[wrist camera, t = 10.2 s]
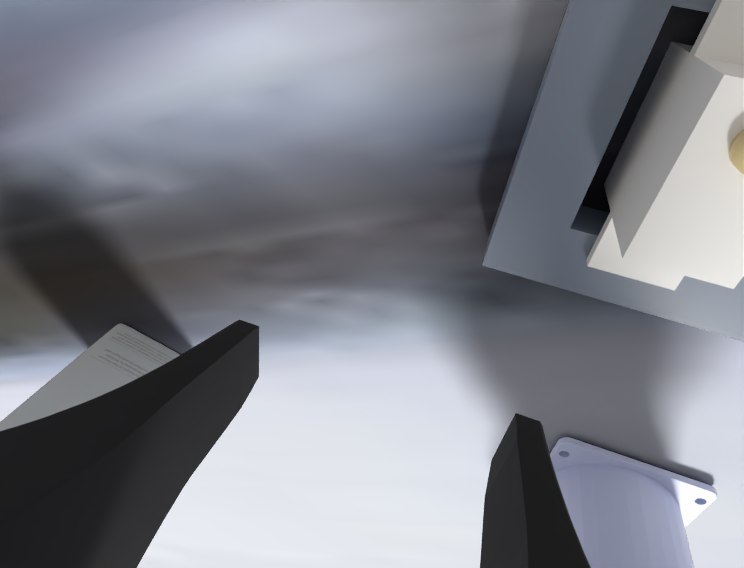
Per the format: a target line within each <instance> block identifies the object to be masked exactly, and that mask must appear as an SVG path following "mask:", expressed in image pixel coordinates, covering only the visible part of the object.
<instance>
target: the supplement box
mask: <svg viewBox="0 0 744 568" xmlns="http://www.w3.org/2000/svg"><path fill="white" fill-rule="evenodd" d="M178 356H180V354H178V353H176V352H175V351H173V350H171V349H169V348H167V347H165V346H164V345H162V344H160V343H158V342H156V341H155V340H153V339H151V338H149V337H147V336H145V335H143V334H141V333H140V332H138V331H136V330H135V329H133V328H131V327H129V326H127V325H125V324H122V323H119V324H117V325H116V326H114V327H113V328H112V329H111V330H110V331H109V332H107V333H106V334H105V335H104V336H102V337H101V338H100V339H99V340H98V341H96V342H95V343H94V344H93V345H92V346H90V347H89V348H88V349H87V350H86V351H84V352H83V353H82V354H81V355H80V356H78V357H77V358H76V359H75V360H74V361H73V362H71V363H70V364H69V365H68V366H67V367H65V368H64V369H63V370H62V371H61V372H59V373H58V374H57V375H56V376H55V377H53V378H52V379H51V380H50V381H49V382H48V383H46V384H45V385H44V386H43V387H42V388H40V389H39V390H38V391H37V392H36V393H34V394H33V395H32V396H31V397H30V398H29V399H27V400H26V401H25V402H24V403H23V404H21V405H20V406H19V407H18V408H16V409H15V410H14V411H13V412H12V413H11V414H9V415H8V416H7V417H6V418H5V419H3V420H2V421H1V422H0V431H3V430H6V429H9V428H13V427H16V426H19V425H22V424H26V423H29V422H32V421H35V420H38V419H41V418H44V417H47V416H49V415H52V414H55V413H57V412H60V411H63V410H66V409H68V408H71V407H74V406H76V405H79V404H81V403H84V402H87V401H89V400H92V399H94V398H96V397H99V396H101V395H103V394H105V393H108V392H110V391H112V390H114V389H117V388H119V387H121V386H123V385H125V384H127V383H129V382H131V381H133V380H135V379H137V378H139V377H141V376H143V375H145V374H147V373H149V372H151V371H152V370H154V369H156V368H158V367H160V366H162V365H164V364H166V363H167V362H169V361H171V360H173V359H174V358H176V357H178Z"/></svg>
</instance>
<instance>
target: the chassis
mask: <svg viewBox="0 0 744 568" xmlns="http://www.w3.org/2000/svg"><path fill="white" fill-rule="evenodd" d="M715 2H716V0H569V3H568V6H567V9H566V12H565V15H564V18H563V21H562V24H561V27H560V30H559V32H558V35H557V38H556V41H555V44H554V47H553V50H552V53H551V56H550V59H549V62H548V65H547V68H546V71H545V73H544V76H543V79H542V82H541V85H540V88H539V91H538V94H537V97H536V100H535V103H534V106H533V109H532V111H531V114H530V117H529V120H528V123H527V126H526V129H525V132H524V135H523V138H522V141H521V144H520V147H519V150H518V152H517V155H516V158H515V161H514V164H513V167H512V170H511V173H510V176H509V179H508V182H507V185H506V188H505V190H504V193H503V196H502V199H501V202H500V205H499V208H498V211H497V214H496V217H495V220H494V223H493V226H492V229H491V231H490V234H489V237H488V241H487V246H486V250H485V254H484V259H483V263H482V266H486V267H489V268H493V269H496V270H499V271H503V272H506V273H510V274H513V275H517V276H520V277H523V278H527V279H530V280H534V281H537V282H541V283H544V284H547V285H551V286H554V287H558V288H561V289H565V290H568V291H571V292H575V293H578V294H582V295H585V296H589V297H592V298H596V299H599V300H602V301H606V302H609V303H613V304H616V305H620V306H623V307H626V308H630V309H633V310H637V311H640V312H644V313H647V314H650V315H654V316H657V317H661V318H664V319H668V320H671V321H674V322H678V323H681V324H685V325H688V326H692V327H695V328H698V329H702V330H705V331H709V332H712V333H716V334H719V335H723V336H726V337H729V338H733V339H736V340H740V341H743V342H744V276H743V278H742V279H741V280H740V282H739V283H738V284H737V285H736V287H735V288H734V289H731V288H728V287H724V286H720V285H717V284H713V283H709V282H706V281H702V280H699V279H695V278H691V277H688V276H684V277H683V279H682V280H681V282H680V283H679V285H678V286H677V288H676V289H675V291H674V290H671V289H667V288H664V287H660V286H656V285H653V284H649V283H646V282H642V281H638V280H635V279H631V278H628V277H624V276H621V275H617V274H613V273H610V272H606V271H603V270H599V269H596V268H592V267H588V266H587V260H586V259H587V257H588V255H589V253H590V251H591V249H592V247H593V245H594V243H595V241H596V239H597V237H598V235H599V233H600V231H601V229H602V227H603V225H604V223H605V221H606V219H607V217H608V215H609V212H605V211H601V210H597V209H593V208H589V207H586V206H582V205H581V203H582V201H583V199H584V197H585V194H586V192H587V190H588V188H589V186H590V183H591V181H592V179H593V177H594V175H595V172H596V170H597V168H598V166H599V164H600V161H601V159H602V157H603V155H604V153H605V151H606V148H607V146H608V144H609V142H610V140H611V137H612V135H613V133H614V131H615V129H616V126H617V124H618V122H619V120H620V118H621V115H622V113H623V111H624V109H625V107H626V104H627V102H628V100H629V98H630V96H631V93H632V91H633V89H634V87H635V85H636V83H637V80H638V78H639V76H640V74H641V72H642V69H643V67H644V65H645V63H646V61H647V58H648V56H649V54H650V52H651V50H652V47H653V45H654V43H655V41H656V39H657V36H658V34H659V32H660V30H661V28H662V25H663V23H664V21H665V19H666V17H667V14H668V12H669V10H670V8H671V6H677V7H682V8H687V9H692V10H698V11H703V12H708V13H710V12H711V10H712V8H713V6H714V4H715Z"/></svg>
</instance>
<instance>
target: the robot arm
mask: <svg viewBox="0 0 744 568" xmlns="http://www.w3.org/2000/svg"><path fill="white" fill-rule="evenodd" d="M258 377H259V326H256V325H254V324H251V323H248V322H245V321H242V320H238V321H236V322H234V323H233V324H231V325H229V326H228V327H226V328H224V329H223V330H221V331H220V332H218V333H216V334H215V335H213V336H211V337H210V338H208V339H207V340H205V341H203V342H202V343H200V344H198V345H197V346H195V347H193V348H192V349H190V350H188V351H186V352H185V353H183V354H181V355H180V356H178V357H176V358H174V359H173V360H171V361H169V362H167V363H166V364H164V365H162V366H160V367H158V368H156V369H154V370H152V371H151V372H149V373H147V374H145V375H143V376H141V377H139V378H137V379H135V380H133V381H131V382H129V383H127V384H125V385H123V386H121V387H119V388H117V389H114V390H112V391H110V392H108V393H105V394H103V395H101V396H99V397H96V398H94V399H92V400H89V401H87V402H84V403H81V404H79V405H76V406H74V407H71V408H68V409H66V410H63V411H60V412H57V413H55V414H52V415H49V416H47V417H44V418H41V419H38V420H35V421H32V422H29V423H26V424H22V425H19V426H16V427H13V428H9V429H6V430H3V431H0V568H137V566H138V564H139V562H140V561H141V559H142V557H143V555H144V553H145V552H146V550H147V548H148V546H149V545H150V543H151V541H152V539H153V538H154V536H155V534H156V532H157V531H158V529H159V527H160V526H161V524H162V522H163V520H164V519H165V517H166V515H167V514H168V512H169V510H170V509H171V507H172V505H173V504H174V502H175V500H176V499H177V497H178V495H179V494H180V492H181V490H182V489H183V487H184V486H185V484H186V483H187V481H188V480H189V478H190V477H191V475H192V474H193V472H194V471H195V470H196V468H197V467H198V466H199V464H200V463H201V462H202V460H203V459H204V458H205V456H206V455H207V454H208V452H209V451H210V450H211V448H212V447H213V445H214V444H215V443H216V441H217V440H218V439H219V437H220V436H221V435H222V433H223V432H224V431H225V429H226V428H227V427H228V425H229V424H230V422H231V421H232V420H233V418H234V417H235V416H236V414H237V413H238V411H239V410H240V409H241V407H242V405H243V404H244V402H245V400H246V399H247V397H248V395H249V393H250V392H251V390H252V388H253V386H254V384H255V382H256V381H257V379H258ZM564 451H565V452H564ZM716 498H717V493H716V489H715V488H714V487H712V486H710V485H708V484H705V483H702V482H699V481H696V480H693V479H690V478H687V477H684V476H681V475H679V474H676V473H673V472H670V471H667V470H664V469H661V468H658V467H655V466H652V465H649V464H646V463H643V462H640V461H637V460H634V459H632V458H629V457H626V456H623V455H620V454H617V453H614V452H611V451H608V450H605V449H602V448H599V447H596V446H593V445H590V444H587V443H585V442H582V441H579V440H576V439H573V438H569V437H563V438H560V439H559V440H558V442H557V443H556V445H555V446H554V448H553V449H552V451H551V453H549V450H548V446H547V442H546V438H545V434H544V430H543V426H542V424H541V422H540V421H537V420H534V419H531V418H528V417H525V416H522V415H519V414H515V416H514V418H513V420H512V422H511V424H510V425H509V427H508V429H507V431H506V433H505V435H504V437H503V439H502V441H501V443H500V445H499V447H498V449H497V451H496V453H495V455H494V457H493V458H492V462H491V467H490V472H489V477H488V483H487V489H486V494H485V503H484V517H483V532H482V548H481V563H480V568H694V564H693V560H692V556H691V552H690V548H689V543H688V539H687V535H686V531H685V527H686V526H687V525H688V524H689V523H690V522H691V521H693V520H694V519H695V518H696V517H697V516H698V515H699V514H700V513H701V512H702V511H704V510H705V509H706V508H707V507H708V506H709V505H710V504H711V503H712V502H713V501H715V500H716Z"/></svg>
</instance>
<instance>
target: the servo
mask: <svg viewBox="0 0 744 568" xmlns="http://www.w3.org/2000/svg"><path fill="white" fill-rule="evenodd" d="M604 187H605V191H606V195H607V199H608V203H609V207H610V213H609V215H608V217H607V219H606V221H605V223H604V225H603V227H602V229H601V231H600V233H599V235H598V237H597V239H596V241H595V243H594V245H593V247H592V249H591V251H590V253H589V255H588V257H587V259H586V260H587V266H588V267H592V268H596V269H599V270H603V271H606V272H610V273H613V274H617V275H621V276H624V277H628V278H631V279H635V280H638V281H642V282H646V283H649V284H653V285H656V286H660V287H664V288H667V289H671V290H674V291H675V289H676V288H677V286H678V285H679V283H680V282H681V280H682V279H683V277H684V276H688V277H691V278H695V279H699V280H702V281H706V282H709V283H713V284H717V285H720V286H724V287H728V288H731V289H734V288H735V287H736V285H737V284H738V283H739V282H740V280H741V279H742V278H743V276H744V0H716V2H715V4H714V6H713V8H712V10H711V12H710V14H709V16H708V18H707V20H706V22H705V24H704V26H703V28H702V30H701V32H700V34H699V36H698V38H697V40H696V42H695V44H694V46H692V45H687V44H682V43H677V42H671V44H670V46H669V48H668V50H667V52H666V55H665V57H664V59H663V61H662V63H661V65H660V67H659V69H658V71H657V74H656V76H655V78H654V80H653V82H652V84H651V86H650V88H649V90H648V93H647V95H646V97H645V99H644V101H643V103H642V105H641V107H640V109H639V112H638V114H637V116H636V118H635V120H634V122H633V124H632V126H631V128H630V131H629V133H628V135H627V137H626V139H625V141H624V143H623V145H622V147H621V150H620V152H619V154H618V156H617V158H616V160H615V162H614V164H613V166H612V169H611V171H610V173H609V175H608V177H607V179H606V181H605V183H604Z"/></svg>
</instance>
